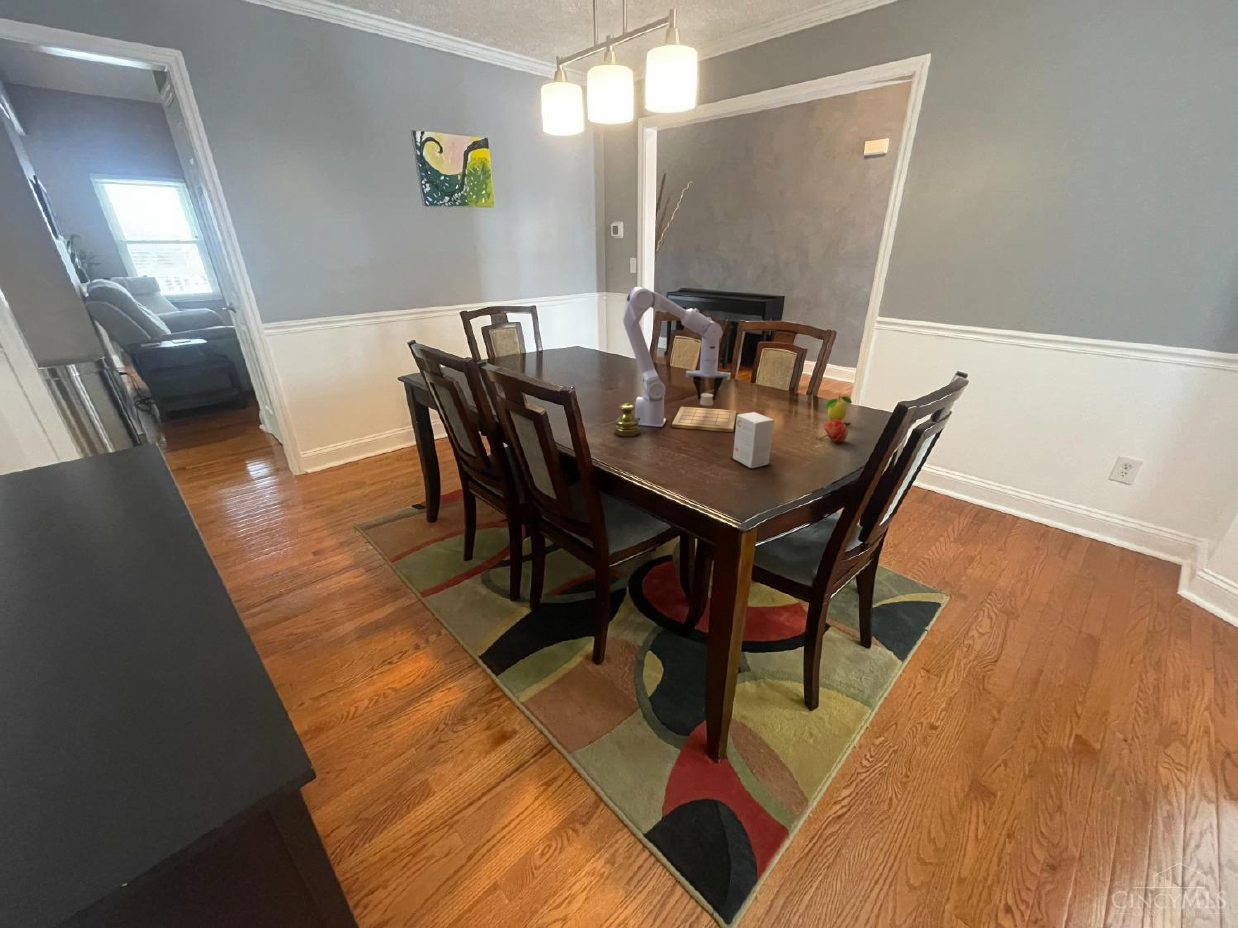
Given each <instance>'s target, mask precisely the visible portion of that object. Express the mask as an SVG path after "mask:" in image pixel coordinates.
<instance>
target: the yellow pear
mask: <svg viewBox="0 0 1238 928" xmlns="http://www.w3.org/2000/svg"><path fill="white" fill-rule="evenodd" d="M841 399H842V401H843V402H842V401H841ZM844 402H845V403H846V404H849V405H851V404H853V401H852V399H851V398H850V397H849V396H841V394H839V396H838V398H832V399H830V400H828V401H827V403H825V406H824V408H825V409H826V408H827V409H828V410H827V417H828V418H829V420H831V419H837V420H841V421H843V420H844V419H845V418H846V415H847V408H846V405H845V403H844Z"/></svg>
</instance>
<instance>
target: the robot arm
mask: <svg viewBox="0 0 1238 928" xmlns="http://www.w3.org/2000/svg"><path fill="white" fill-rule="evenodd" d="M650 308H651V309H662V310H664V311H665V312H667V313H669V314H671V315H673V316H675V317H677V318H678V319H680V322H681V325H682V326H684V327H685V328H686V329H688V330H690V331H692V332H694V333H695V334H697V335H700V336H701V343H700V358H699V359H700V360H699V361H700V362H699V370H686V371H685V378H689V379H690V378H693V380H692V382H693V384H694V388H695V390H696V393H697V400H699V401H700V395H701V394H702V380H703V379H714V383H713V393H712V394H713V402H714V401H716V398H717V394H718V391H719V388H720V387H721V385H722V383H723V380H727V381H730V380H731V375H732V372H727V371H726V372H724V371H718V367H719V366H718V365H719V352H720V351H719V350H720V339H721V338H722V336H723V334H724V331H723V329H722V327H721V325H720V324H719V323H717V322H715V321H713V320H712V318H711V317H710V316H705V315H704V314H703V313H700V310H699V309H697V308H688V309H685V308H683V307H682V306H680V305H678V304H677V303H675V302H673V301H672V300H671V299H669V298H667V297H666V296H665V295H663V294H660V293H658V292H655V291H652V290H650V289H648V288H645V287H643V286H635V287H633V288H632V289H631V290H630V291H629V293H628V295H627V296H626V298H625V304H624V311H623V315H622V323H623V326H624V329H625V332H626V334H627V337H628V340H629V343H630V345H631V348H632V349H631V350H632V351H633V354H634V357H635V359H636V362H637V366H638V368H639V370H640V375H641V378H642V383H641V386H642V389H643V390H644V393H643V394H642V396H637V397H636V400H635V405H634V406H635V409H634V410H635V412H634V413H635V415H634V416H635V417H636V418H637V419H638V420H639V424H638V426H643V427H657V428H663V427H664V425H665V423H666V422H667V418H665V395H666V390H667V388H666V385H665V384H664V383H663V382H662V380H661V379H660V377H659V375H658V373H657V371H656V368H655V365H654V362H653V359H652V356H651V352H650V350H649V348H648V344H647V342H646V339H645V336H644V333H643V330H642V327H641V325H640V321H641V320H642V318H643V316H644V314H645V313H646V312H647V311H648V310H649V309H650Z"/></svg>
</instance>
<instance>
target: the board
mask: <svg viewBox="0 0 1238 928" xmlns="http://www.w3.org/2000/svg"><path fill="white" fill-rule="evenodd" d="M736 419H737V410H736V409H735V410H733V409H719V408H706V407H705V408H704V407H690V406H689V407H688V406H680V408H679V410H678V412H677V413H676V415H675V417H674V419H673V421H672V423H671V428H676V429H687V430H688V429H689V430H702V431H712V432H725V433H734V430H735V429H734V428H735V425H736Z"/></svg>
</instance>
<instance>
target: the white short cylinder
mask: <svg viewBox="0 0 1238 928" xmlns="http://www.w3.org/2000/svg"><path fill="white" fill-rule="evenodd" d="M713 394H714V393H708V392H707V393H701V395H700V400H699V405H701V406H705V407H706V406H707V407H708V406H709V407H710V406H712V405H714V400H713Z"/></svg>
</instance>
